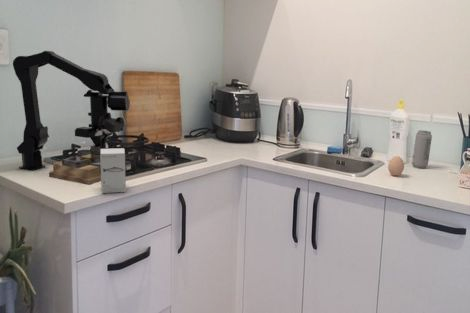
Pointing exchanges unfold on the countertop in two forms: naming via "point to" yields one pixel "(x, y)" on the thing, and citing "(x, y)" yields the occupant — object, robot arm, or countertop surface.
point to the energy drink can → (422, 149)
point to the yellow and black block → (92, 153)
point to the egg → (396, 166)
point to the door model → (78, 170)
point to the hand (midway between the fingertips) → (100, 152)
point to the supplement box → (112, 170)
